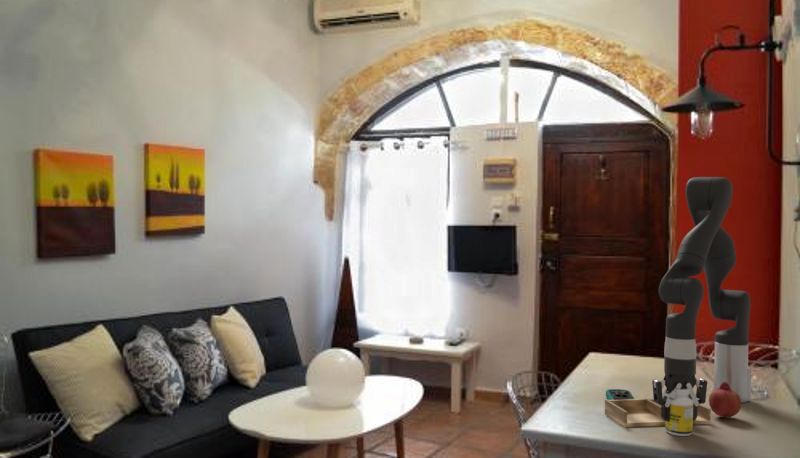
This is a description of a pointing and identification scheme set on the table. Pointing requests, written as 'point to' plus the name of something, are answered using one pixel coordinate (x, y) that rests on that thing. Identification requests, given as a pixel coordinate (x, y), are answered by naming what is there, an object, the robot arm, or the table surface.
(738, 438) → the table surface
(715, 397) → the fruit
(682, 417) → the pill bottle
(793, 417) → the table surface
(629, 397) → the digital multimeter
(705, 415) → the divided wooden tray
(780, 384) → the table surface
